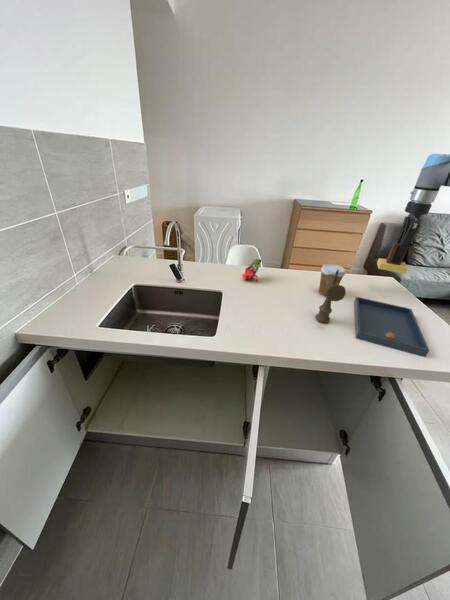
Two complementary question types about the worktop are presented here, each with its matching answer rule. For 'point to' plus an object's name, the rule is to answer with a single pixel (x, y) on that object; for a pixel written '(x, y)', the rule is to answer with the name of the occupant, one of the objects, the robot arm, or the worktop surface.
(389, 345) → the tray
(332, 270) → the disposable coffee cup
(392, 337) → the cork ball
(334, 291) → the kendama
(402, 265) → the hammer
